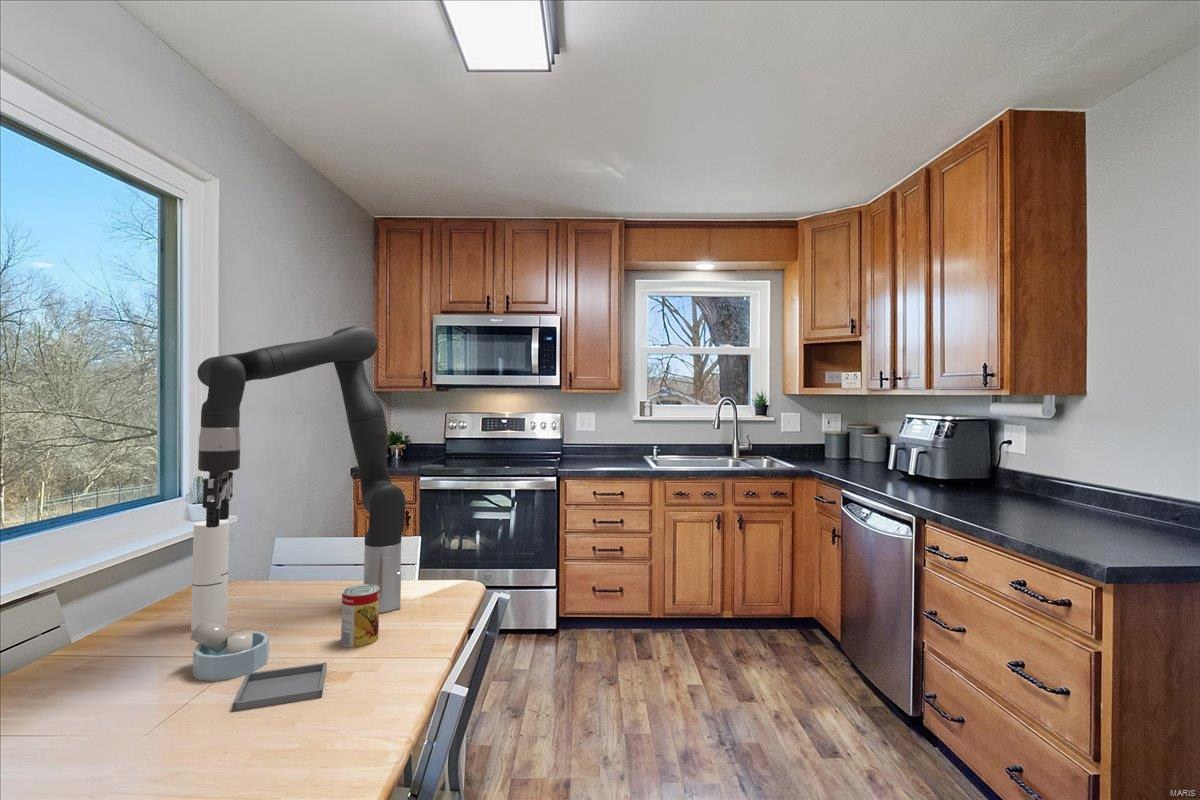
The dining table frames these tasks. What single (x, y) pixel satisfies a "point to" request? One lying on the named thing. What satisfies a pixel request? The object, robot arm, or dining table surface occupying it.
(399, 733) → the dining table surface
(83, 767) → the dining table surface
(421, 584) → the dining table surface
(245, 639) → the white glass cylinder
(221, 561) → the cylindrical container
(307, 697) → the tray
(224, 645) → the white cylinder
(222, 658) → the bowl
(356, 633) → the canned food
